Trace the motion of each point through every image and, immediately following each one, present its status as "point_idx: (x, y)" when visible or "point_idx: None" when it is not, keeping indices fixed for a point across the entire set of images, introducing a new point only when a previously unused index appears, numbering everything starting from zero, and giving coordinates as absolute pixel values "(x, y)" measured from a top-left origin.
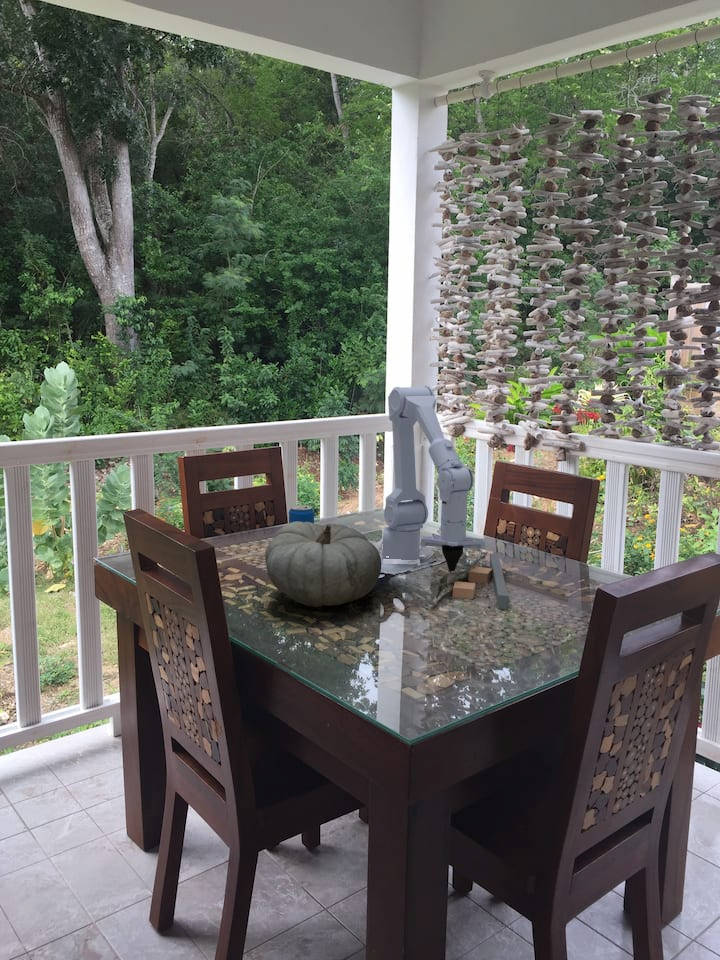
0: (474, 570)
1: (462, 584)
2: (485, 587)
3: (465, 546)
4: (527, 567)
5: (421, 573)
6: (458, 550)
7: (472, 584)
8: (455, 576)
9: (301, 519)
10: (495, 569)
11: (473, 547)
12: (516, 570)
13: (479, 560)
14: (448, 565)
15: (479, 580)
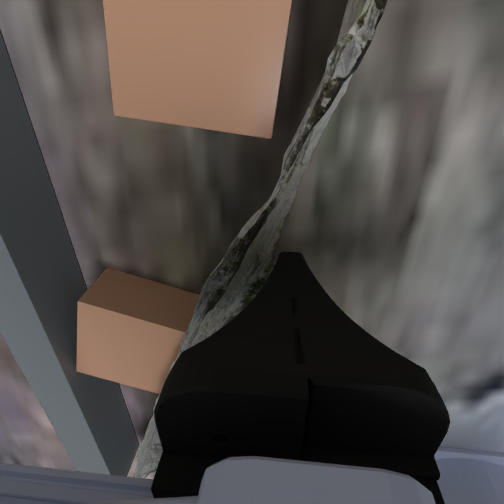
0: (157, 344)
1: (212, 54)
2: (103, 212)
3: (129, 494)
4: (14, 429)
5: None
6: (215, 410)
7: (130, 69)
8: (267, 220)
9: None
10: (35, 337)
11: (38, 473)
12: (38, 408)
13: (150, 446)
14: (324, 298)
15: (141, 286)
